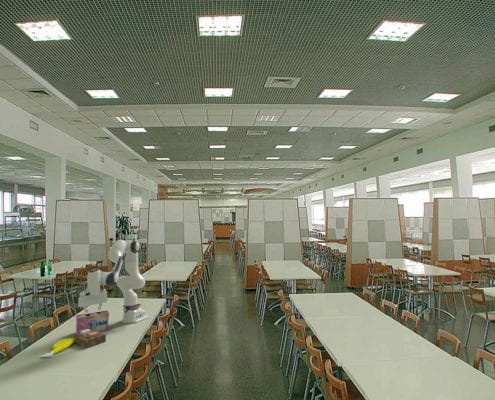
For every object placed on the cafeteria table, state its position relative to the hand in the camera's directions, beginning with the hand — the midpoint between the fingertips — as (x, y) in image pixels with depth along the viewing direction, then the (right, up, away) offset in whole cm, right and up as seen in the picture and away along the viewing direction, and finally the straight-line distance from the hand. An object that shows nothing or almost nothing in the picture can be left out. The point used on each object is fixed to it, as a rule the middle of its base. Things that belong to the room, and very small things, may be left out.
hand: (92, 310), depth 223 cm
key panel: (-3, -23, +1) cm, 23 cm away
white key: (-8, -20, +4) cm, 22 cm away
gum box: (-12, -25, +22) cm, 35 cm away
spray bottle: (-18, -23, -12) cm, 31 cm away
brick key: (+1, -20, -2) cm, 20 cm away
